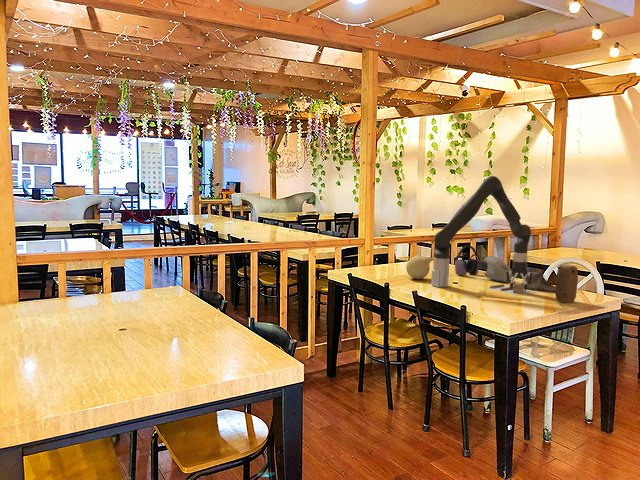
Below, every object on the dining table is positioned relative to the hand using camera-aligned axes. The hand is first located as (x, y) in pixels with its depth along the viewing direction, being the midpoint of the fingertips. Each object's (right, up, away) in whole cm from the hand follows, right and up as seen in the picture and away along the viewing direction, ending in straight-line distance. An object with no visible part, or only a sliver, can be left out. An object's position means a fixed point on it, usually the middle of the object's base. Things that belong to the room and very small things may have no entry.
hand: (518, 289), depth 293 cm
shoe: (+18, -3, +6) cm, 19 cm away
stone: (+19, -5, -16) cm, 25 cm away
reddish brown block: (0, -1, 0) cm, 1 cm away
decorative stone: (+3, +2, +42) cm, 42 cm away
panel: (-3, -2, +5) cm, 6 cm away
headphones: (-12, +4, +61) cm, 62 cm away
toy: (-48, +3, +44) cm, 65 cm away
